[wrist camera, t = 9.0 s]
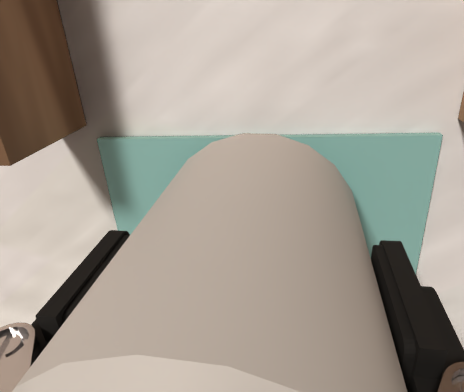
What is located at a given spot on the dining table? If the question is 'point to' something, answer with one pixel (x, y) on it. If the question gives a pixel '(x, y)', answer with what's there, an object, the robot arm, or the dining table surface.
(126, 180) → the pad
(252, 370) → the can
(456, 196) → the dining table surface
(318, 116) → the dining table surface
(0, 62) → the wooden corridor walls
